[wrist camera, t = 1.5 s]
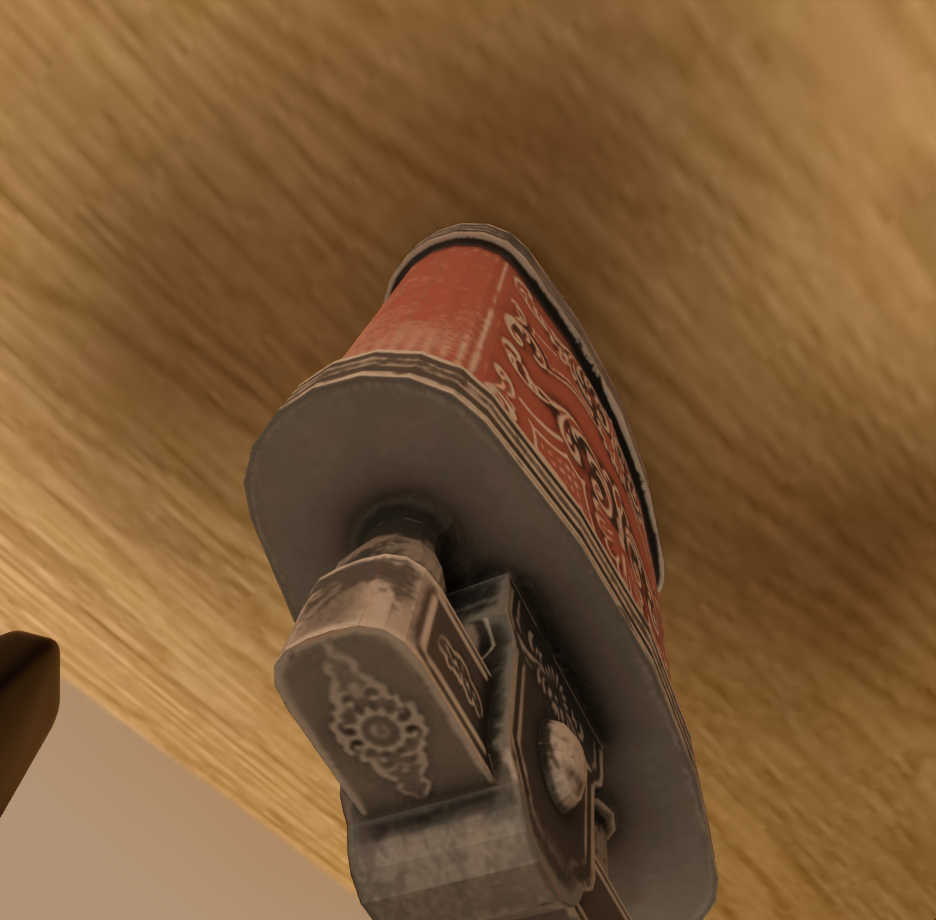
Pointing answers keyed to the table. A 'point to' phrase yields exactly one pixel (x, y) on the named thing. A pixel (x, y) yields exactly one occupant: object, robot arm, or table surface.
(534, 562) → the lighter
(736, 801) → the table surface
